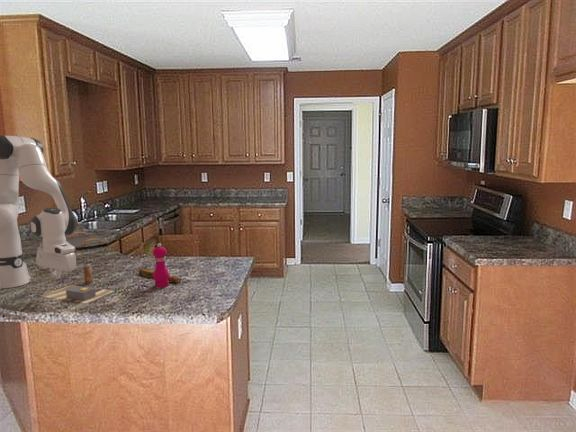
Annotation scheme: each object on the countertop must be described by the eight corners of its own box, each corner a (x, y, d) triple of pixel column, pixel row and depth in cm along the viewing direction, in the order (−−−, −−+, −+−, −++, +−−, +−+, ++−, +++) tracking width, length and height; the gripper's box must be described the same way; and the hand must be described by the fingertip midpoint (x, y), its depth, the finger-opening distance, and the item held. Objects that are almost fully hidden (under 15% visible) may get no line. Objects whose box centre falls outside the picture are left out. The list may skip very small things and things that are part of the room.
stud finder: (66, 298, 187) (65, 289, 186) (78, 293, 192) (77, 285, 192) (84, 300, 183) (83, 291, 183) (95, 296, 189) (94, 287, 188)
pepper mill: (156, 283, 209) (153, 241, 205) (171, 282, 208) (169, 241, 205) (151, 288, 202) (148, 245, 198) (167, 287, 201) (164, 245, 198)
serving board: (59, 242, 303) (58, 233, 302) (94, 237, 317) (93, 228, 316) (75, 252, 274) (74, 242, 273) (113, 246, 288) (112, 237, 287)
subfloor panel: (40, 299, 190) (40, 296, 190) (71, 287, 205) (70, 285, 204) (86, 306, 180) (86, 303, 180) (115, 293, 195) (114, 290, 195)
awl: (83, 286, 206) (80, 259, 204) (89, 284, 209) (86, 257, 207) (89, 287, 205) (86, 260, 203) (94, 284, 208) (92, 258, 206)
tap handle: (176, 278, 206) (136, 268, 223) (176, 285, 206) (137, 274, 224) (181, 277, 208) (141, 267, 226) (181, 283, 209) (142, 273, 226)
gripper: (31, 245, 188) (33, 276, 190) (65, 250, 180) (67, 283, 182) (44, 242, 194) (46, 273, 196) (78, 247, 185) (79, 279, 188)
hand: (56, 278), depth 189 cm, fingers closed
